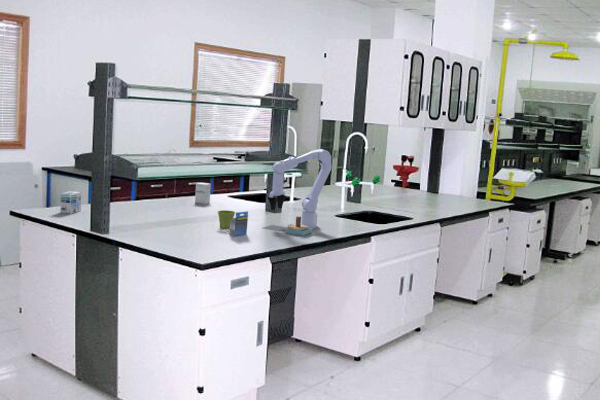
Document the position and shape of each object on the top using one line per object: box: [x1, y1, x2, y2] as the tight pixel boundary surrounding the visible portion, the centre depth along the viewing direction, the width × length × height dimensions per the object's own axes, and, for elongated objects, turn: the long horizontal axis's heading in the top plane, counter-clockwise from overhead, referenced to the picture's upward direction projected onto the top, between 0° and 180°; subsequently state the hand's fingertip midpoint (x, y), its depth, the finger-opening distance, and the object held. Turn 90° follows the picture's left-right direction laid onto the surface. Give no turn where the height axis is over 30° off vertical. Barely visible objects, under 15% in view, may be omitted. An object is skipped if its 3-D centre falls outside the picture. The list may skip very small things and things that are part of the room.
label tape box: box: [229, 210, 249, 237], centre depth 329 cm, size 9×4×12 cm, turn 141°
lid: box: [286, 216, 308, 230], centre depth 342 cm, size 11×11×6 cm
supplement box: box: [194, 182, 212, 205], centre depth 415 cm, size 7×7×13 cm
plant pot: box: [217, 209, 236, 230], centre depth 344 cm, size 9×9×9 cm
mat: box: [262, 224, 288, 232], centre depth 352 cm, size 12×12×1 cm
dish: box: [285, 228, 313, 237], centre depth 343 cm, size 10×10×3 cm
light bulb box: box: [59, 190, 82, 215], centre depth 358 cm, size 11×7×11 cm, turn 168°
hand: (276, 209), depth 355 cm, fingers open, 7 cm apart
